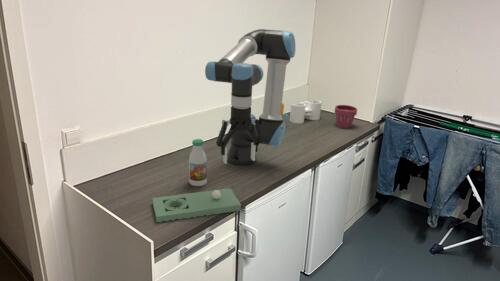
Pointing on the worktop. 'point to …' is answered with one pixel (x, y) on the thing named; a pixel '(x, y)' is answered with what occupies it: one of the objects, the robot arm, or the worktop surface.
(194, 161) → the milk bottle
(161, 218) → the plate
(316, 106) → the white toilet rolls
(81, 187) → the worktop surface
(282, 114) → the orange blue toy
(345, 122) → the plant pot
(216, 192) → the ball
